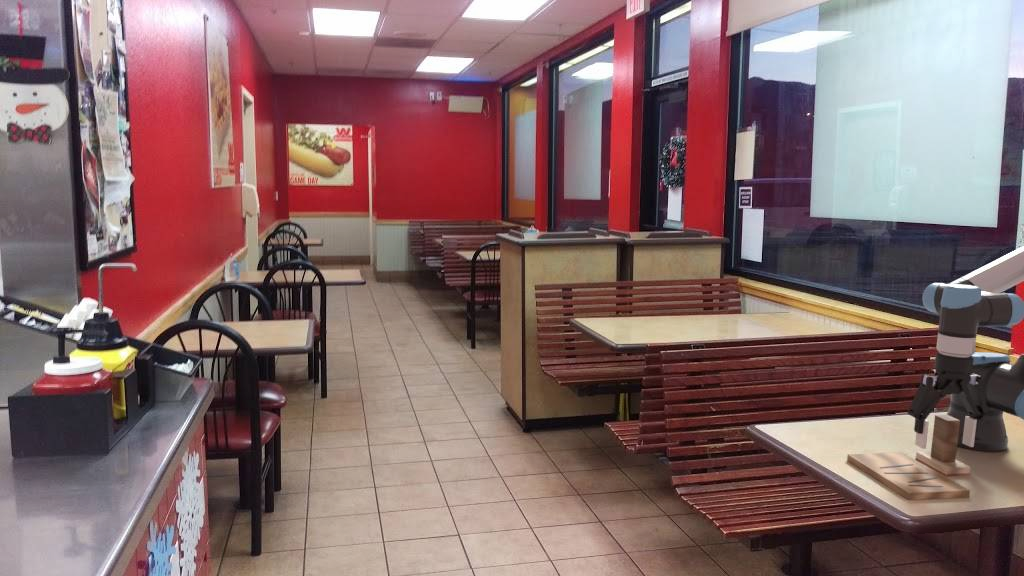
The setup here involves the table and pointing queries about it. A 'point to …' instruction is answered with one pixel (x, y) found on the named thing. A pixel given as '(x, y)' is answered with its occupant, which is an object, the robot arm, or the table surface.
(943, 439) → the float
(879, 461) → the board
